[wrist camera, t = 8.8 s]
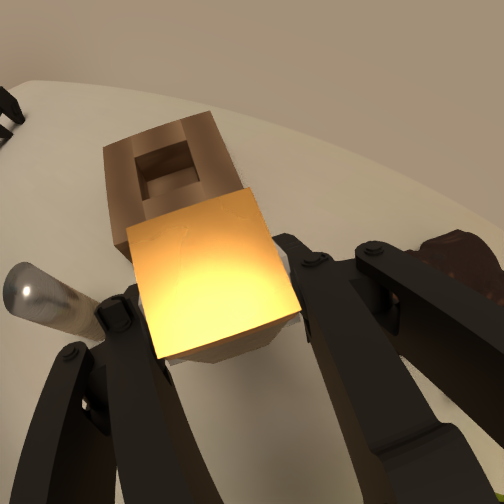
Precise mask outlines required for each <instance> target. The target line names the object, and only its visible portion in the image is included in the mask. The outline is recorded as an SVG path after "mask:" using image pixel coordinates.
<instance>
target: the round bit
mask: <svg viewBox="0 0 504 504" xmlns="http://www.w3.org/2000/svg"><path fill="white" fill-rule="evenodd" d="M3 301H4V304H5V307H6V309H7V310H8V311H9V313H11V314H12V315H14V316H17V317H20V318H23V319H26V320H29V321H32V322H35V323H38V324H41V325H44V326H47V327H50V328H53V329H57V330H60V331H63V332H67V333H70V334H74V335H77V336H81V337H84V338H88V339H92V340H96V341H101V340H104V339H105V332H104V331H103V329H102V327H101V325H100V324H99V322H98V320H97V318H96V317H95V315H94V311H95V309H96V307H97V306H98V305H99V304H100V303H99V302H97V301H95V300H93V299H91V298H90V297H88V296H86V295H84V294H82V293H80V292H78V291H77V290H75V289H73V288H71V287H69V286H68V285H66V284H64V283H62V282H61V281H59V280H57V279H55V278H54V277H52V276H50V275H49V274H47V273H45V272H44V271H42V270H40V269H39V268H37V267H35V266H34V265H32V264H31V263H28V262H21V263H19V264H17V265H15V266H14V267H13V268H12V269H11V270H10V272H9V273H8V275H7V277H6V280H5V283H4V287H3Z"/></svg>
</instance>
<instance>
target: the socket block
mask: <svg viewBox="0 0 504 504" xmlns="http://www.w3.org/2000/svg"><path fill="white" fill-rule="evenodd" d="M103 157H104V170H105V181H106V190H107V199H108V208H109V215H110V223H111V229H112V236H113V242H114V246H115V247H116V248H117V249H118V250H119V251H120V252H121V253H122V254H123V255H124V256H125V257H126V258H127V259H128V260H129V261H130V262H131V263H132V264H133V261H132V257H131V252H130V247H129V242H128V237H127V231H126V228H128V227H131V226H133V225H136V224H139V223H142V222H144V221H147V220H150V219H153V218H156V217H159V216H161V215H164V214H167V213H170V212H173V211H176V210H179V209H182V208H185V207H188V206H191V205H194V204H197V203H200V202H203V201H206V200H210V199H213V198H216V197H219V196H222V195H226V194H229V193H232V192H235V191H239V190H242V189H244V188H243V186H242V183H241V181H240V179H239V176H238V174H237V172H236V169H235V167H234V165H233V162H232V160H231V158H230V155H229V153H228V151H227V149H226V146H225V144H224V142H223V139H222V137H221V135H220V132H219V130H218V128H217V126H216V123H215V121H214V119H213V116H212V114H211V112H210V111H207V112H203V113H200V114H196V115H193V116H189V117H186V118H183V119H180V120H176V121H173V122H170V123H167V124H164V125H161V126H158V127H155V128H152V129H149V130H147V131H144V132H141V133H138V134H136V135H133V136H130V137H128V138H125V139H122V140H120V141H117V142H115V143H112V144H110V145H107V146H105V147H103Z"/></svg>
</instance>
